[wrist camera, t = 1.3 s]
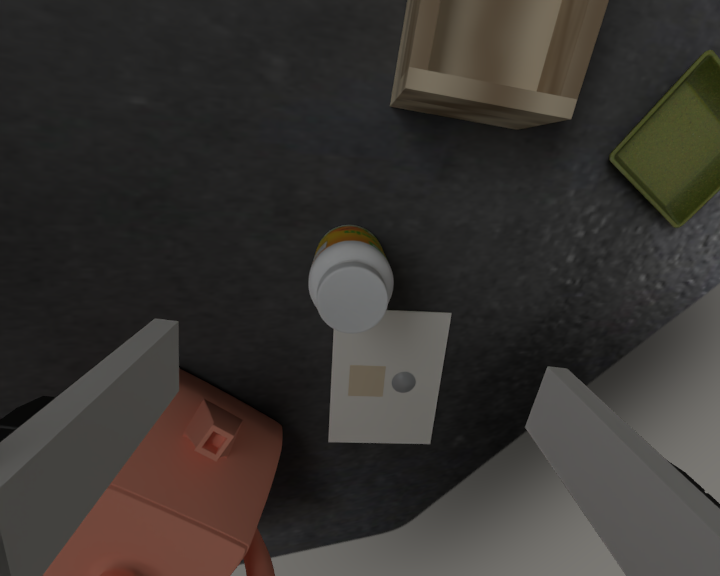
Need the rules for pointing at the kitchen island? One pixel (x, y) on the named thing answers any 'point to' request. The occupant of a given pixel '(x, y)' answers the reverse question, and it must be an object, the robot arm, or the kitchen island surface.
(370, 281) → the supplement bottle
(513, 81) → the wooden crate
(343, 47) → the kitchen island surface
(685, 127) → the green tray
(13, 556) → the robot arm
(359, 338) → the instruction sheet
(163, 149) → the kitchen island surface
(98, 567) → the teapot
